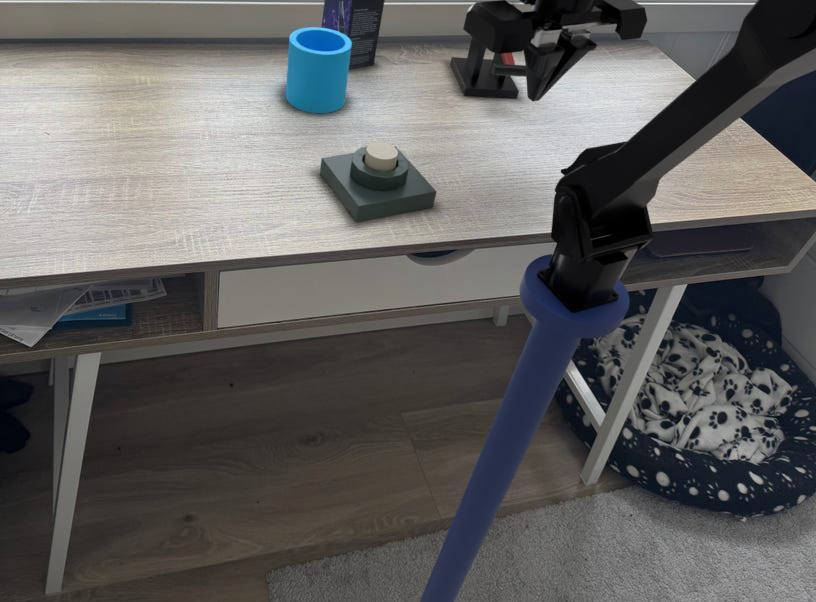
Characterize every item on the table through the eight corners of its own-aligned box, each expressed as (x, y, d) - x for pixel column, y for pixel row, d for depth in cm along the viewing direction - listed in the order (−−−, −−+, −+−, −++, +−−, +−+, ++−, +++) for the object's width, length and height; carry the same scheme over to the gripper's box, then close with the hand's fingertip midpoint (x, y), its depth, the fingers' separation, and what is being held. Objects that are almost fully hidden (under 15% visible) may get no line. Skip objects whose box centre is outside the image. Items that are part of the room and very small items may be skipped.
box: (318, 47, 113) (325, -26, 105) (350, 43, 115) (359, -29, 107) (343, 70, 108) (351, -4, 100) (375, 65, 110) (386, -8, 103)
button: (401, 169, 83) (403, 156, 82) (373, 174, 82) (375, 161, 81) (386, 153, 85) (388, 140, 84) (359, 157, 84) (361, 144, 83)
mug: (354, 109, 100) (362, 51, 94) (299, 116, 97) (303, 57, 91) (319, 69, 107) (325, 13, 102) (267, 74, 104) (269, 17, 99)
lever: (526, 81, 100) (532, 67, 98) (491, 79, 99) (496, 65, 97) (510, 23, 106) (515, 9, 104) (476, 21, 105) (481, 6, 103)
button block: (433, 207, 85) (440, 178, 82) (356, 222, 81) (360, 192, 78) (392, 161, 91) (398, 132, 88) (319, 173, 87) (322, 144, 85)
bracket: (516, 98, 107) (538, 25, 100) (464, 95, 106) (482, 21, 99) (499, 67, 114) (518, -3, 107) (449, 64, 113) (465, -7, 106)
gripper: (602, -85, 76) (556, 57, 87) (451, -81, 70) (421, 73, 80) (678, -47, 70) (617, 103, 80) (519, -38, 63) (476, 125, 73)
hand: (533, 99), depth 79 cm, fingers closed
